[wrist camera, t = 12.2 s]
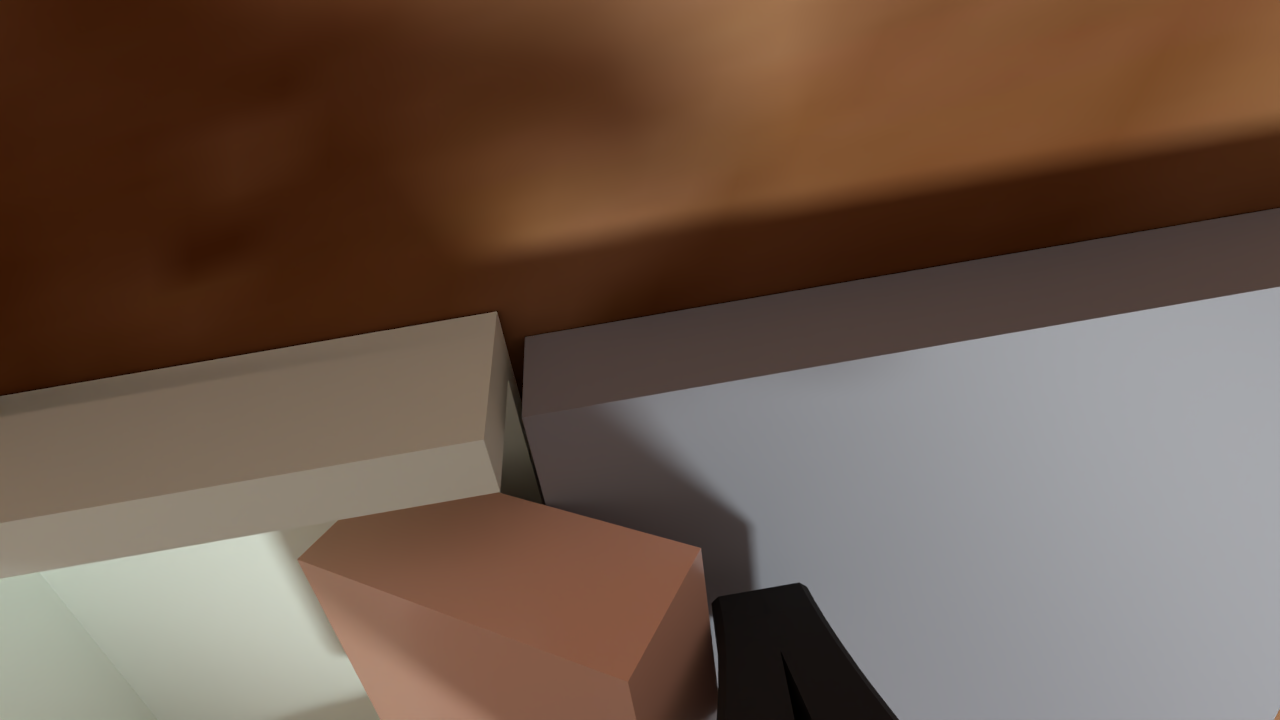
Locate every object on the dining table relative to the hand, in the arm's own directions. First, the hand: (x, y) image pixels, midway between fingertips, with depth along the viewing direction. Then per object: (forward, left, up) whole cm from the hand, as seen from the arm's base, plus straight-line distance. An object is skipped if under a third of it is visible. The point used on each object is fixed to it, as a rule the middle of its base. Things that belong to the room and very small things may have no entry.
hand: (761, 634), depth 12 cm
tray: (-3, +7, -3) cm, 8 cm away
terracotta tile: (0, +3, -1) cm, 3 cm away
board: (-4, -4, -3) cm, 6 cm away
